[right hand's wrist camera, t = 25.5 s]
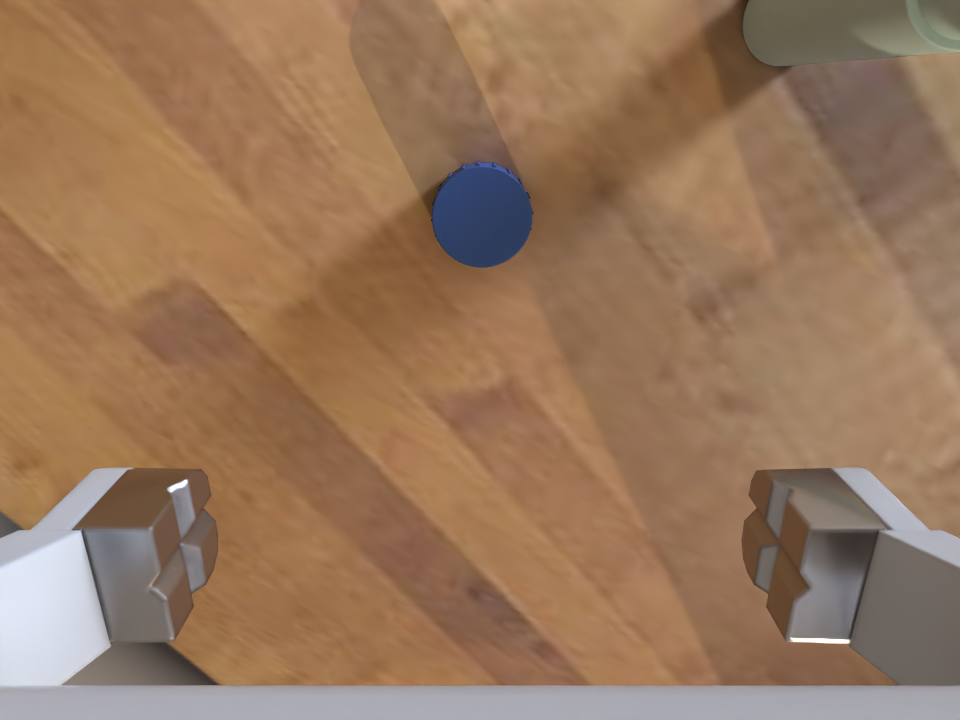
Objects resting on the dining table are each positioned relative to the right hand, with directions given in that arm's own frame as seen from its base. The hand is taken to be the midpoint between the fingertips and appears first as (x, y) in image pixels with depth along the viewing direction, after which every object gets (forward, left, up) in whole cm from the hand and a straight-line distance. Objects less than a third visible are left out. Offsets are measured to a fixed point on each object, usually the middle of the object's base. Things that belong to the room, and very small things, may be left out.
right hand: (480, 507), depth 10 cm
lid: (0, 0, -25) cm, 25 cm away
